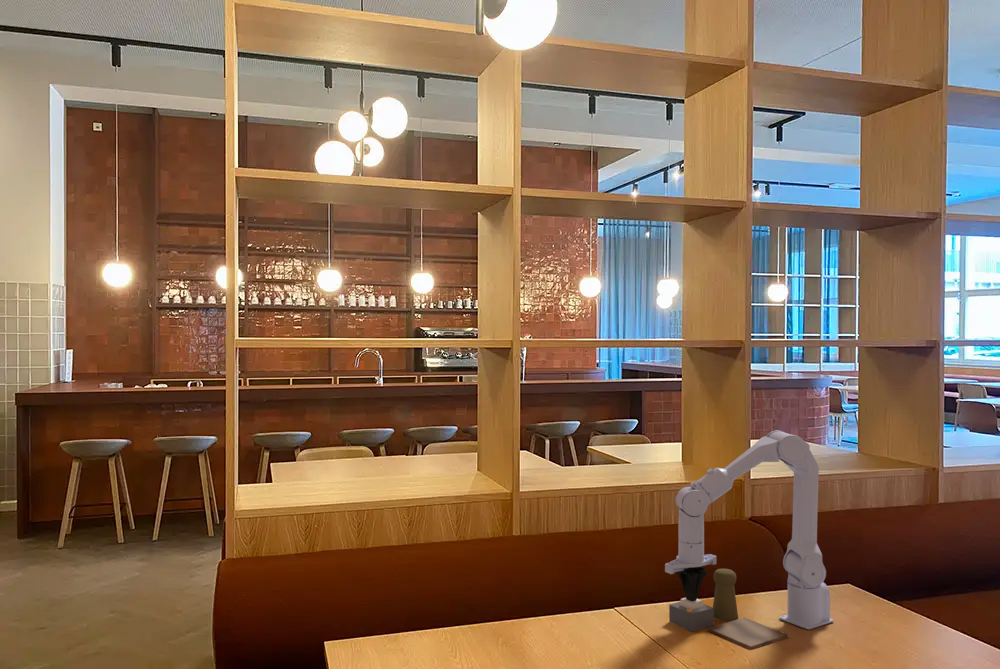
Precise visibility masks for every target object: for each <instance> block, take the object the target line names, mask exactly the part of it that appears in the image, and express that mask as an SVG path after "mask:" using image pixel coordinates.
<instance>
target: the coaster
mask: <svg viewBox="0 0 1000 669" xmlns="http://www.w3.org/2000/svg"><path fill="white" fill-rule="evenodd" d="M707 631H708V632H709V633H712V634H715V635H717V636H719V637H720V638H721V637H722V638H723V639H726V640H728V641H731V642H733V643H735V644H738V645H740V646H743V647H744V648H746V649H749V650H753V649H757V648H760V647H762V646H766V645H769V644H772V643H775V642H778V641H781V640H785V639H787V638H788V637H789V635H788V633H785V632H782V631H780V630H778V629H774V628H772V627H770V626H768V625H764V624H762V623H760V622H757V621H754V620H752V619H749V618H747V617H741V618H738V619H737V620H734V621H726V622H723V623H721V624H717V625H713V626H710V627H707Z"/></svg>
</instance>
